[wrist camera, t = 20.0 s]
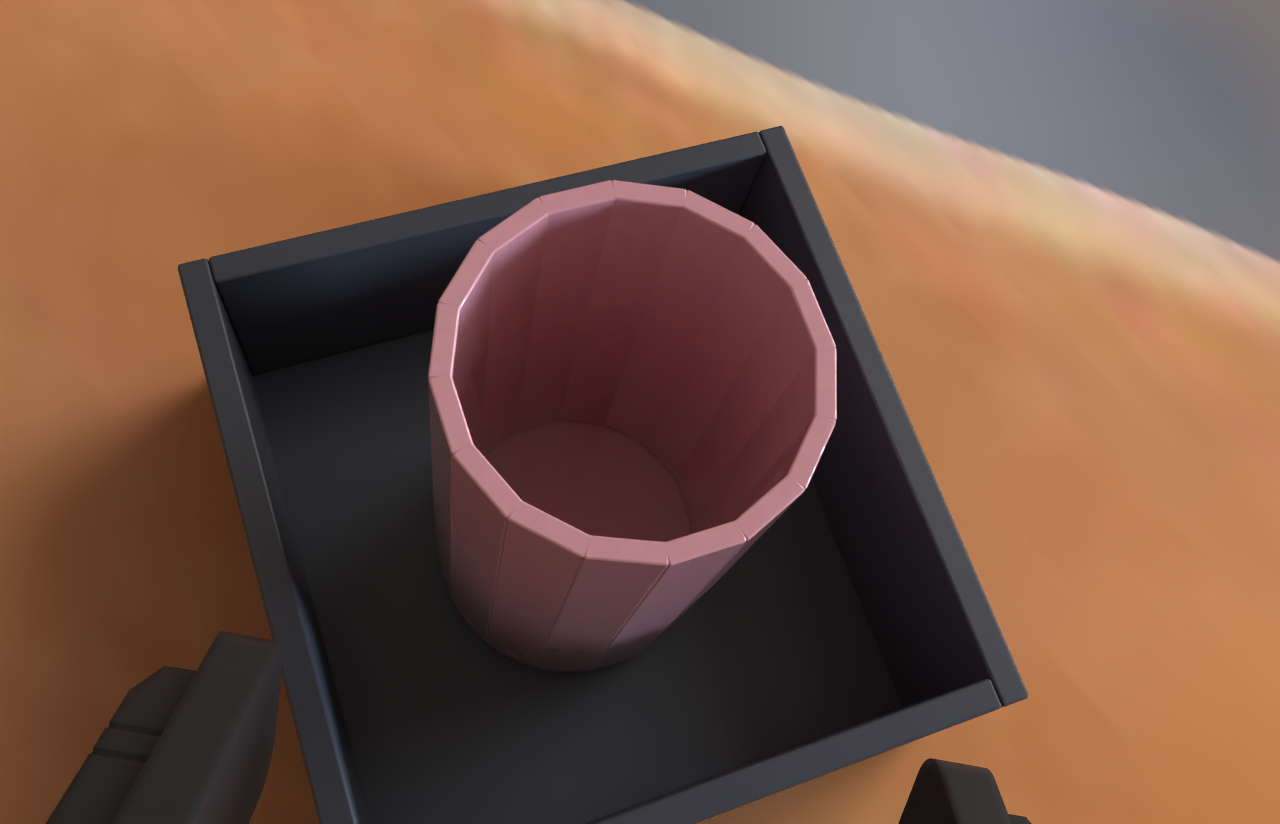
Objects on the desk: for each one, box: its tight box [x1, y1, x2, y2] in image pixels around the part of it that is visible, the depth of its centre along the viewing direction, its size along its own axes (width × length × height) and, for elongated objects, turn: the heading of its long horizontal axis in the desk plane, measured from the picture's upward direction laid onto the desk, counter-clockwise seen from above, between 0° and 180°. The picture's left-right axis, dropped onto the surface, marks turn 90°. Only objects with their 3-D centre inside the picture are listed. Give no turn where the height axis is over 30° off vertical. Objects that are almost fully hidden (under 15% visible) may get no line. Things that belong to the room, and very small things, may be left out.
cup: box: [428, 180, 837, 672], centre depth 23 cm, size 6×6×11 cm
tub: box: [178, 126, 1028, 824], centre depth 26 cm, size 13×13×6 cm
